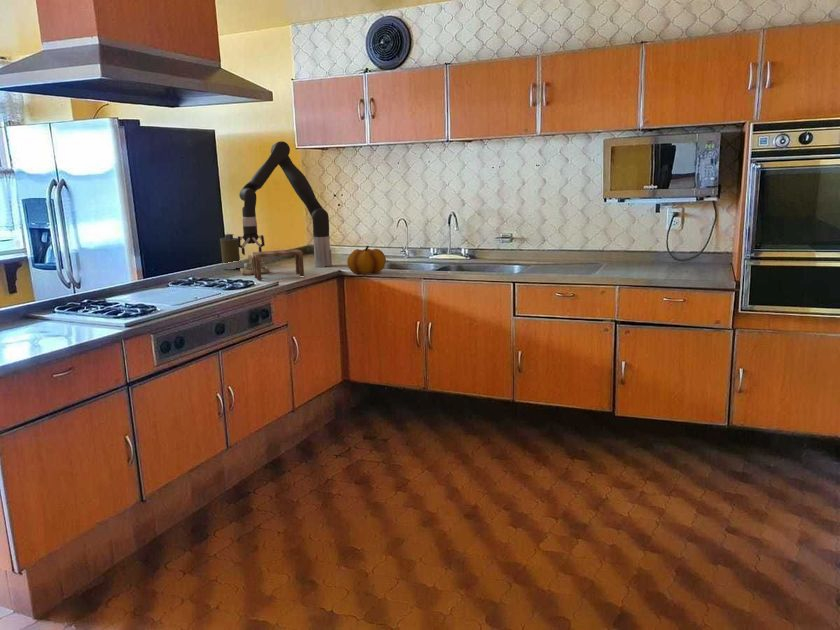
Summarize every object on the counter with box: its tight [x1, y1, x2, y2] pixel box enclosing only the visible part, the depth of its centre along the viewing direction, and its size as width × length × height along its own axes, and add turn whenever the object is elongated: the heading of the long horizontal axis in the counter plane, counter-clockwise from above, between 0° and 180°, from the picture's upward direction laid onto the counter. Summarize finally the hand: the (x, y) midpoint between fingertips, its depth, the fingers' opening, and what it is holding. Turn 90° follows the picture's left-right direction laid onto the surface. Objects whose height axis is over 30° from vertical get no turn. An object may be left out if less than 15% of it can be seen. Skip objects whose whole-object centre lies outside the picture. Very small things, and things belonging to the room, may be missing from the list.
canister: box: [219, 233, 241, 265], centre depth 384 cm, size 11×10×20 cm
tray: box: [239, 255, 270, 276], centre depth 370 cm, size 14×23×8 cm, turn 21°
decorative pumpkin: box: [346, 245, 387, 276], centre depth 352 cm, size 20×22×15 cm
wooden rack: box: [252, 248, 305, 281], centre depth 347 cm, size 24×12×14 cm, turn 111°
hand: (251, 254), depth 366 cm, fingers open, 8 cm apart
